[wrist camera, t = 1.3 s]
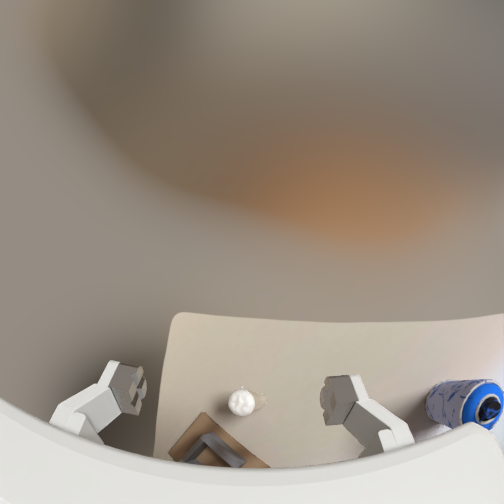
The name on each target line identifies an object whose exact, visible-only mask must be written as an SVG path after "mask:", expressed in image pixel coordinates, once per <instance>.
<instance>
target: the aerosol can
mask: <svg viewBox="0 0 504 504" xmlns="http://www.w3.org/2000/svg"><path fill="white" fill-rule="evenodd" d="M503 409H504V391H503V388H502V387H501V386H500V384H499V383H497V382H496V381H494V380H492V379H479V380H462V381H454V380H445V381H442V382H440V383H438V384H437V385H435V386H434V387H433V388H432V389H431V391H430V393H429V394H428V396H427V399H426V403H425V410H426V413H427V415H428V417H429V418H430V419H431V420H433V421H435V422H439V423H441V424H443V425H446V426H448V427H450V428H452V429H454V428H456V427H458V426H461V425H463V424H465V423H468V422H474V423H476V424H479V425H480V426H482V427H484V428H486V429H488V430H490V429H492V428H493V427H494V425H495V424H496V423H497V422H498V420H499V418H500V416H501V415H502V412H503Z"/></svg>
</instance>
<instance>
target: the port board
mask: <svg viewBox="0 0 504 504" xmlns="http://www.w3.org/2000/svg"><path fill="white" fill-rule="evenodd" d="M169 454H170V455H171V456H172V457H173V458H174V459H175V460H176V462H181V463H189V464H196V465H205V466H217V467H232V468H271V467H269V466H268V465H267V464H265V463H264V462H263V461H261V460H260V459H259V458H257V457H256V456H255V455H253V454H252V453H251V452H250V451H248V450H247V449H246V448H245V447H243V446H242V445H241V444H240V443H239V442H237V441H236V440H235V439H234V438H233V437H231V436H230V435H229V434H228V433H227V432H226V431H224V430H223V429H222V428H221V427H220V426H219V425H218V424H217V423H215V422H214V421H213V420H212V419H211V418H210V417H209V416H208V415H207V414H206V413H205V412H203V413H201V414H200V416H199V417H198V418H197V419H196V421H195V422H194V423H193V424H192V425H191V427H190V428H189V429H188V430H187V431H186V433H185V434H184V435H183V436H182V437H181V439H180V440H179V441H178V442H177V443H176V445H175V446H174V447H173V448H172V449H171V450H170V452H169Z"/></svg>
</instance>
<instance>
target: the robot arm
mask: <svg viewBox="0 0 504 504" xmlns="http://www.w3.org/2000/svg"><path fill="white" fill-rule="evenodd" d="M142 374H143V369H142V367H141V366H136V365H131V364H126V363H122V362H118V361H113V360H111V361H110V362H109V363H108V364H107V366H106V368H105V370H104V372H103V374H102V376H101V378H100V380H99V382H98V384H93V385H91V386H90V387H88V388H86V389H85V390H83V391H81V392H79V393H78V394H76V395H74V396H72V397H71V398H69V399H67V400H65V401H64V402H62V403H60V404H59V405H58V407H57V408H56V410H55V412H54V414H53V416H52V418H51V420H50V422H49V423H47V422H45V421H43V420H41V419H39V418H37V417H35V416H33V415H31V414H29V413H27V412H25V411H24V410H21V409H20V408H18V407H16V406H15V405H13V404H11V403H10V402H8V401H6V400H5V399H3V398H1V397H0V504H504V455H503V453H502V450H501V448H500V446H499V444H498V442H497V440H496V438H495V436H494V435H493V433H492V432H491V431H489V430H488V429H486V428H484V427H482V426H480V425H479V424H476V423H474V422H468V423H465V424H463V425H461V426H458V427H456V428H454V429H452V430H449V431H447V432H444V433H442V434H439V435H437V436H434V437H432V438H429V439H426V440H423V441H420V442H417V443H415V441H414V439H413V436H412V434H411V432H410V429H409V427H408V425H407V423H405V422H404V421H402V420H401V419H400V418H398V417H397V416H395V415H394V414H392V413H391V412H390V411H388V410H387V409H385V408H384V407H383V406H381V405H380V404H378V403H377V402H376V401H374V400H373V399H369V397H368V394H367V392H366V390H365V387H364V385H363V382H362V380H361V378H360V375H358V374H353V375H341V376H328V377H326V379H325V381H324V383H325V386H324V387H323V388H322V389H321V392H320V404H321V407H322V408H323V409H324V410H325V411H324V413H323V417H324V421H325V425H326V426H327V425H339V424H343V426H344V427H345V428H346V429H347V430H348V431H349V432H350V433H351V434H352V435H353V436H354V437H355V438H356V439H357V440H358V441H359V442H360V443H361V444H362V445H363V446H364V447H365V448H366V449H365V450H364V451H363V452H362V453H361V454H360V456H359V457H358V458H357V459H352V460H347V461H341V462H334V463H327V464H319V465H310V466H299V467H284V468H232V467H217V466H205V465H196V464H189V463H181V462H175V461H169V460H164V459H158V458H153V457H149V456H144V455H140V454H136V453H132V452H128V451H124V450H120V449H117V448H113V447H110V446H107V445H104V443H103V441H102V440H101V438H100V437H99V436H98V434H97V433H98V432H99V431H100V430H102V429H103V428H104V427H105V426H107V425H108V424H109V423H110V422H111V421H113V420H114V419H115V418H116V417H117V416H118V415H119V414H121V412H124V413H129V414H134V415H138V414H139V412H140V409H141V406H142V403H141V399H142V398H144V397H145V394H146V387H147V385H146V379H145V378H144V377H143V376H142Z"/></svg>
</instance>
